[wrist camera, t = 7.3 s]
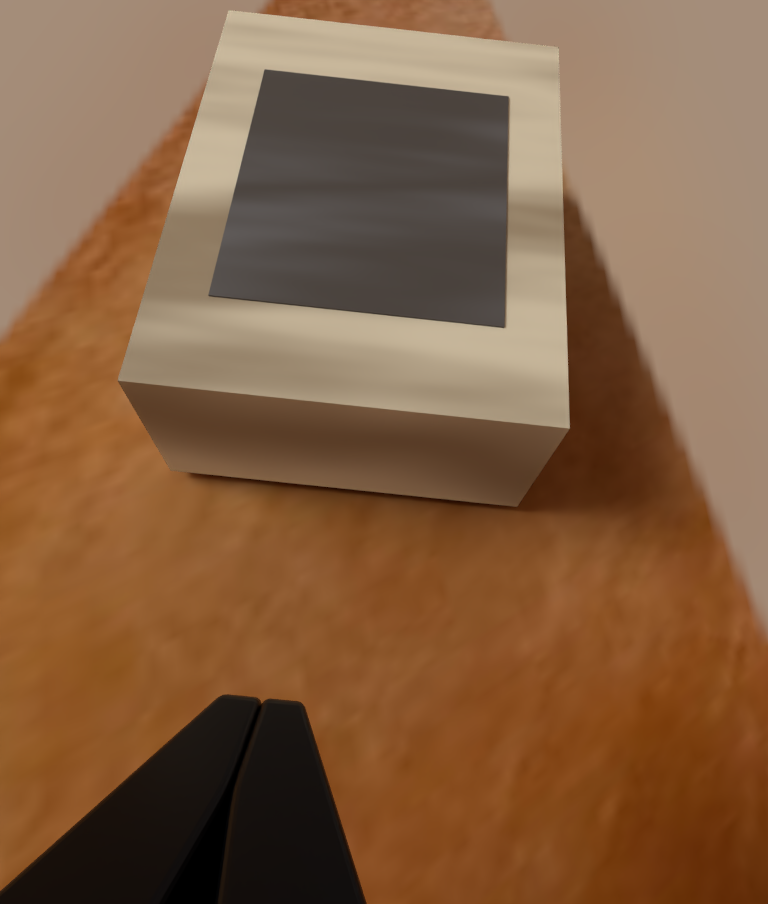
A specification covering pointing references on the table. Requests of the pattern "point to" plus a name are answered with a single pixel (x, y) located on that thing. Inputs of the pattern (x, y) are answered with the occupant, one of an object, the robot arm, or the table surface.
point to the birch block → (362, 266)
